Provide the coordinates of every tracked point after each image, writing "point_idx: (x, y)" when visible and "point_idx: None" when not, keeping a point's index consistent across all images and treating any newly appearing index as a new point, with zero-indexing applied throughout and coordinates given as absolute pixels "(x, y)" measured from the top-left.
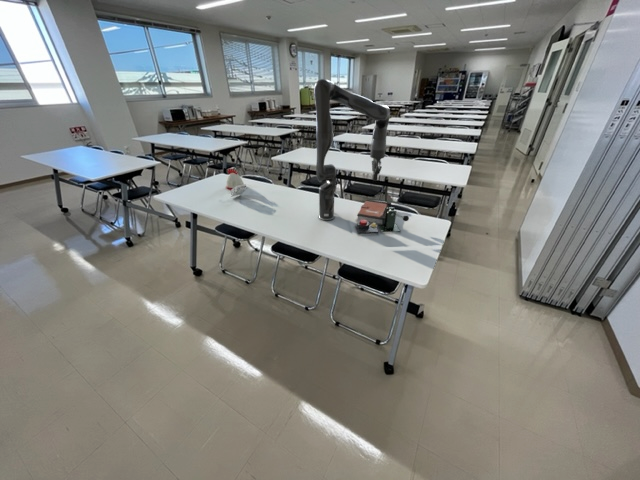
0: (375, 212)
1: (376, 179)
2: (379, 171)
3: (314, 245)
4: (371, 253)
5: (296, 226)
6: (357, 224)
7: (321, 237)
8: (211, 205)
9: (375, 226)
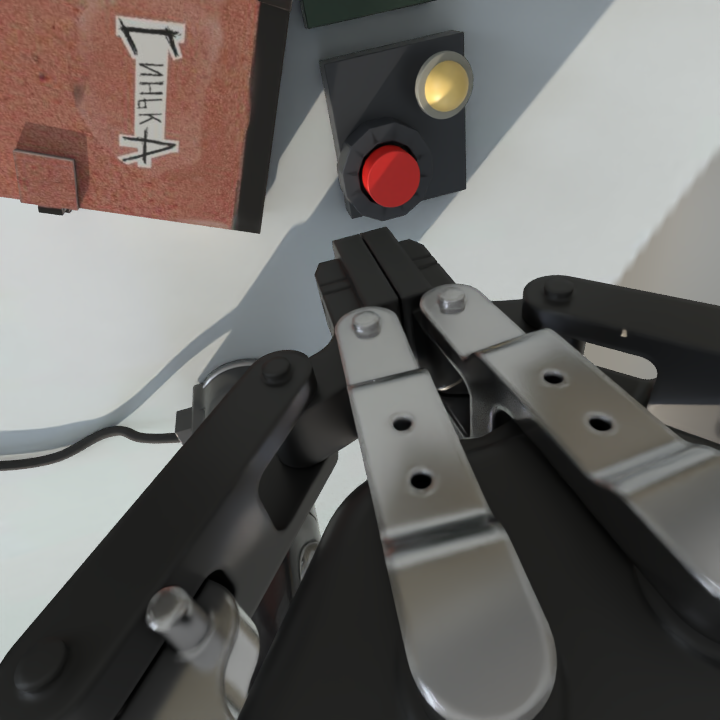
0: (155, 55)
1: (420, 250)
2: (687, 317)
3: None
4: (656, 93)
5: None
6: (402, 214)
7: None
8: None
9: (465, 70)
